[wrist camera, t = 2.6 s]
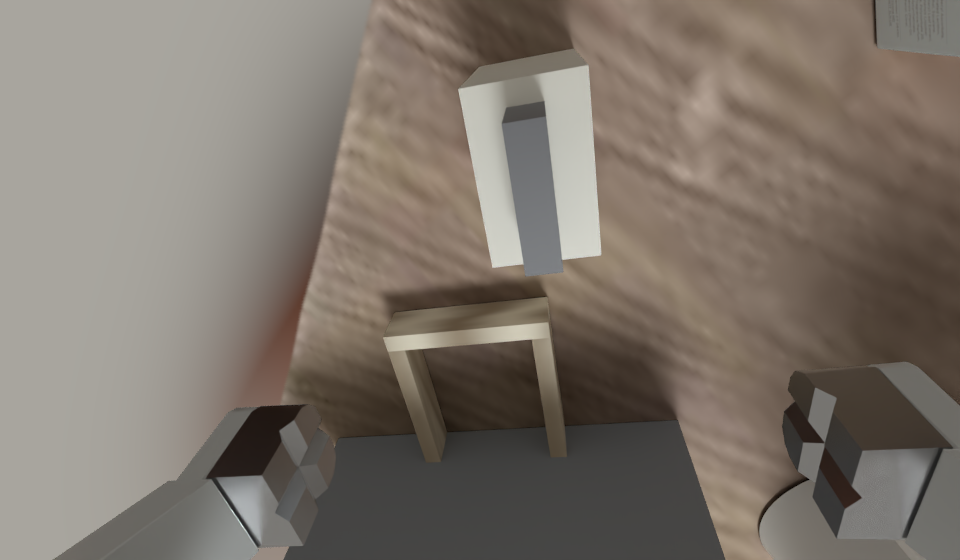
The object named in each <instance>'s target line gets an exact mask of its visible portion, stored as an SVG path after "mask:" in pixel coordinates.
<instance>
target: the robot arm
mask: <svg viewBox="0 0 960 560" xmlns="http://www.w3.org/2000/svg"><path fill="white" fill-rule="evenodd" d="M788 391H789V393H790V394H791V396H792V397H793V399H794V400H795V402H794V403H793V404H792V405H790V406H789V407H788V408H787V409H786V410H785V411H784V417H783V425H782V428H783V435H784V441H785V445H786V448H787V451H788V453H789V456H790V458H791V460H792V462H793V464H794V465H795V467H796V469H797V471H798V472H799V473H801V474H802V475H804V476H805V477H807V478H808V479H810V480H808V481H806V482H803V483H801V484H799V485H797V486H796V487H794V488H792V489H791V490H789V491H787V492H786V493H784V494H783V495H782V496H781V497H779V498H778V499H777V500H776V501H775V502H774V503H773V504H772V505H771V506H770V507H769V508H768V510H767V511H766V513H765V514H764V516H763V518H762V520H761V523H760V529H759V535H760V540H761V542H762V545H763V546H764V548H765V549H766V550H767V552H768V553H769V554H770V555H771V557H772V558H773V559H774V560H960V405H959V404H958V403H957V402H955V401H954V400H953V399H952V398H951V397H950V396H949V395H948V394H947V393H946V392H945V391H944V390H942V389H941V388H940V387H939V386H938V385H937V384H936V383H935V382H934V381H933V380H932V379H931V378H929V377H928V376H927V375H926V374H925V373H924V372H923V371H922V370H921V369H920V368H919V367H917V366H916V365H913V364H911V363H909V362H896V363H884V364H872V365H867V366H851V367H838V368H825V369H812V370H799V371H795V372H794V373H793V374H792V376H791V377H790V381H789V387H788ZM321 420H322V419H321V417H320V415H319V413H318V411H317V409H316V407H315V406H312V405H308V404H302V405H278V406H260V407H245V408H236V409H234V410H232V411H230V412H228V413H227V414H226V416H225V417H224V419H223V420H222V421H221V422H220V424H219V425H218V426H217V428H216V429H215V430H214V432H213V433H212V434H211V435H210V437H209V438H208V439H207V441H206V442H205V443H204V445H203V446H202V447H201V449H200V450H199V451H198V453H197V454H196V455H195V457H194V458H193V459H192V460H191V462H190V463H189V464H188V466H187V467H186V468H185V470H184V471H183V472H182V474H181V475H180V476H179V477H178V479H177V480H176V481H168V482H166V483H165V484H163V485H162V486H160V487H159V488H157V489H156V490H154V491H153V492H151V493H150V494H149V495H147V496H146V497H144V498H143V499H141V500H140V501H138V502H137V503H135V504H134V505H132V506H131V507H130V508H128V509H127V510H125V511H124V512H122V513H121V514H119V515H118V516H116V517H115V518H113V519H112V520H111V521H109V522H108V523H106V524H105V525H103V526H102V527H100V528H99V529H97V530H96V531H94V532H93V533H91V534H90V535H88V536H87V537H86V538H84V539H83V540H81V541H80V542H78V543H77V544H75V545H74V546H72V547H71V548H69V549H68V550H66V551H65V552H64V553H62V554H61V555H59V556H58V557H56V558H55V559H53V560H251V558H252V557H253V556H254V555H255V554H256V553H257V552H258V551H259V549H258V548H263V547H286V546H304V543H305V541H306V539H307V536H308V534H309V532H310V529H311V527H312V525H313V523H314V520H315V518H316V516H317V513H318V511H319V509H318V506H317V502H316V499H317V498H318V497H319V496H320V495H321V494H322V493H323V492H324V491H325V490H327V489H328V487H329V485H330V482H331V480H332V477H333V475H334V469H335V461H336V455H335V449H334V445H333V442H332V440H331V438H330V436H329V435H327V434H326V433H324V432H323V431H322V430H320V429H319V428H318V427H319V425H320V422H321Z"/></svg>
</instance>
